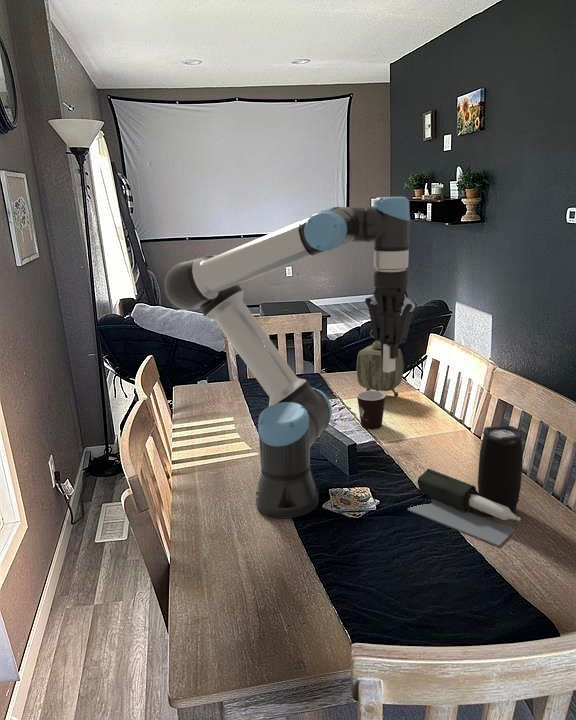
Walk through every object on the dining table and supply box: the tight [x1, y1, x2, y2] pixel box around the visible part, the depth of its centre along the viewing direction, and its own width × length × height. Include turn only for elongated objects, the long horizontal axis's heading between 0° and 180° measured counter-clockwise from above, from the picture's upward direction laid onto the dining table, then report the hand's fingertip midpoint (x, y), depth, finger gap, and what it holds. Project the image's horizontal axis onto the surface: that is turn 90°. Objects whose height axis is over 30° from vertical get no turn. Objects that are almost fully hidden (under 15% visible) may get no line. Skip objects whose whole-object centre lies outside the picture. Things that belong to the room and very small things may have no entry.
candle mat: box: [407, 498, 516, 548], centre depth 130 cm, size 8×22×1 cm, turn 46°
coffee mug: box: [356, 390, 386, 431], centre depth 183 cm, size 12×9×10 cm
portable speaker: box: [477, 424, 524, 519], centre depth 131 cm, size 9×9×20 cm
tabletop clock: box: [356, 329, 404, 397], centre depth 204 cm, size 14×9×25 cm, turn 58°
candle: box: [416, 468, 522, 522], centre depth 133 cm, size 5×5×25 cm
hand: (389, 370), depth 137 cm, fingers closed
